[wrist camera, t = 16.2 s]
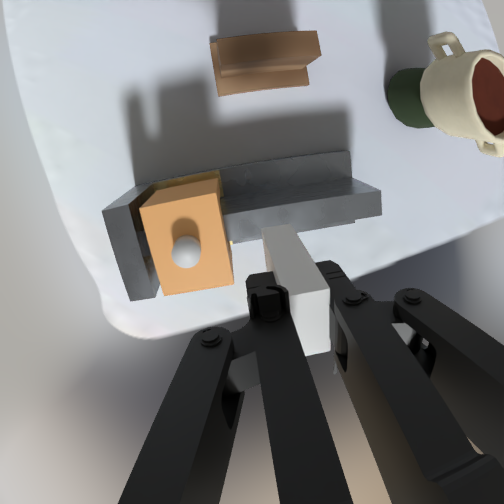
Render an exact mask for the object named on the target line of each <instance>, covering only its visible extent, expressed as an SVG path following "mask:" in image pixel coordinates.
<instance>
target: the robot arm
mask: <svg viewBox="0 0 504 504" xmlns="http://www.w3.org/2000/svg"><path fill="white" fill-rule="evenodd" d="M261 230H262V237H263V245H264V252H265V260H266V267H267V272H263V273H257V274H251V275H249V276H248V278H247V280H246V281H245V282H246V288H247V295H248V296H247V302H248V307H249V313H250V320H249V322H248V323H247V324H246V325H245V326H244V327H242V328H241V329H239V330H237V331H234V332H232V333H230V332H229V330H226V329H225V328H222V327H208V328H206V329H203V330H200V331H199V332H197V333H196V334H195V335H194V336H193V338H192V339H191V341H190V343H189V345H188V347H187V349H186V351H185V354H184V356H183V358H182V360H181V362H180V364H179V367H178V369H177V371H176V373H175V376H174V378H173V380H172V382H171V384H170V386H169V389H168V391H167V393H166V395H165V398H164V400H163V402H162V404H161V406H160V409H159V411H158V413H157V415H156V418H155V420H154V422H153V424H152V426H151V429H150V431H149V433H148V436H147V438H146V440H145V442H144V445H143V447H142V449H141V451H140V454H139V456H138V459H137V461H136V463H135V465H134V467H133V470H132V472H131V474H130V477H129V479H128V481H127V483H126V486H125V488H124V490H123V493H122V495H121V497H120V500H119V503H118V504H219V502H220V497H221V493H222V489H223V485H224V481H225V477H226V473H227V469H228V465H229V460H230V456H231V452H232V448H233V443H234V439H235V434H236V430H237V426H238V422H239V417H240V413H241V409H242V404H243V400H244V395H245V392H244V391H245V390H247V389H249V388H252V387H254V386H256V385H258V384H261V390H262V396H263V402H264V409H265V415H266V421H267V427H268V433H269V440H270V446H271V452H272V458H273V464H274V470H275V476H276V482H277V488H278V494H279V500H280V504H353V501H352V498H351V495H350V492H349V489H348V485H347V482H346V479H345V476H344V473H343V469H342V467H341V463H340V460H339V457H338V454H337V451H336V447H335V444H334V441H333V438H332V435H331V432H330V429H329V426H328V423H327V420H326V417H325V414H324V411H323V408H322V405H321V401H320V398H319V396H318V392H317V389H316V386H315V384H314V380H313V377H312V375H311V371H310V368H309V365H308V362H307V359H306V357H305V356H308V355H312V354H317V353H322V352H327V351H330V340H331V342H332V344H333V346H334V374H336V373H337V368H338V369H339V372H340V374H341V377H342V379H343V381H344V384H345V386H346V389H347V391H348V393H349V396H350V398H351V401H352V403H353V405H354V408H355V410H356V413H357V415H358V418H359V420H360V423H361V425H362V428H363V430H364V432H365V435H366V437H367V440H368V443H369V445H370V448H371V450H372V453H373V455H374V458H375V460H376V463H377V466H378V468H379V471H380V473H381V476H382V478H383V481H384V484H385V486H386V489H387V492H388V494H389V497H390V500H391V502H392V504H504V345H502V344H501V343H499V342H498V341H497V340H495V339H494V338H492V337H491V336H489V335H488V334H487V333H485V332H484V331H483V330H481V329H480V328H478V327H477V326H475V325H474V324H472V323H471V322H469V321H468V320H467V319H465V318H463V317H462V316H460V315H459V314H458V313H456V312H455V311H453V310H452V309H450V308H449V307H447V306H446V305H444V304H443V303H441V302H440V301H438V300H437V299H435V298H434V297H432V296H430V295H429V294H427V293H426V292H424V291H422V290H419V289H415V288H406V289H402V290H400V291H398V292H397V293H396V294H395V296H394V301H387V302H386V301H384V302H381V301H374V299H373V298H372V297H371V296H370V295H369V294H368V293H367V292H364V291H361V290H356V288H355V287H354V285H353V284H352V283H351V281H350V280H349V278H348V277H347V276H346V274H345V273H344V272H343V270H342V269H341V268H340V266H339V265H338V264H336V263H334V262H333V261H331V260H328V261H322V262H317V263H314V261H313V259H312V258H311V256H310V254H309V253H308V251H307V249H306V248H305V246H304V245H303V243H302V241H301V240H300V238H299V236H298V235H297V233H296V232H295V230H294V228H293V227H292V225H291V224H286V225H279V226H273V227H267V228H261ZM423 338H425V339H426V340H427V341H428V342H429V345H428V346H425V345H424V344H423V343H422V340H423ZM466 436H467V437H468V438H469V439H470V440H471V441H472V442H473V443H474V444H475V445H476V446H477V447H478V448H479V449H480V450H481V451H482V452H483V453H484V454H482V455H481V454H478V453H477V452H476V451H475V450H474V449H473V447H472V445H471V443H470V442H469V440H468V438H467V437H466Z"/></svg>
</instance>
